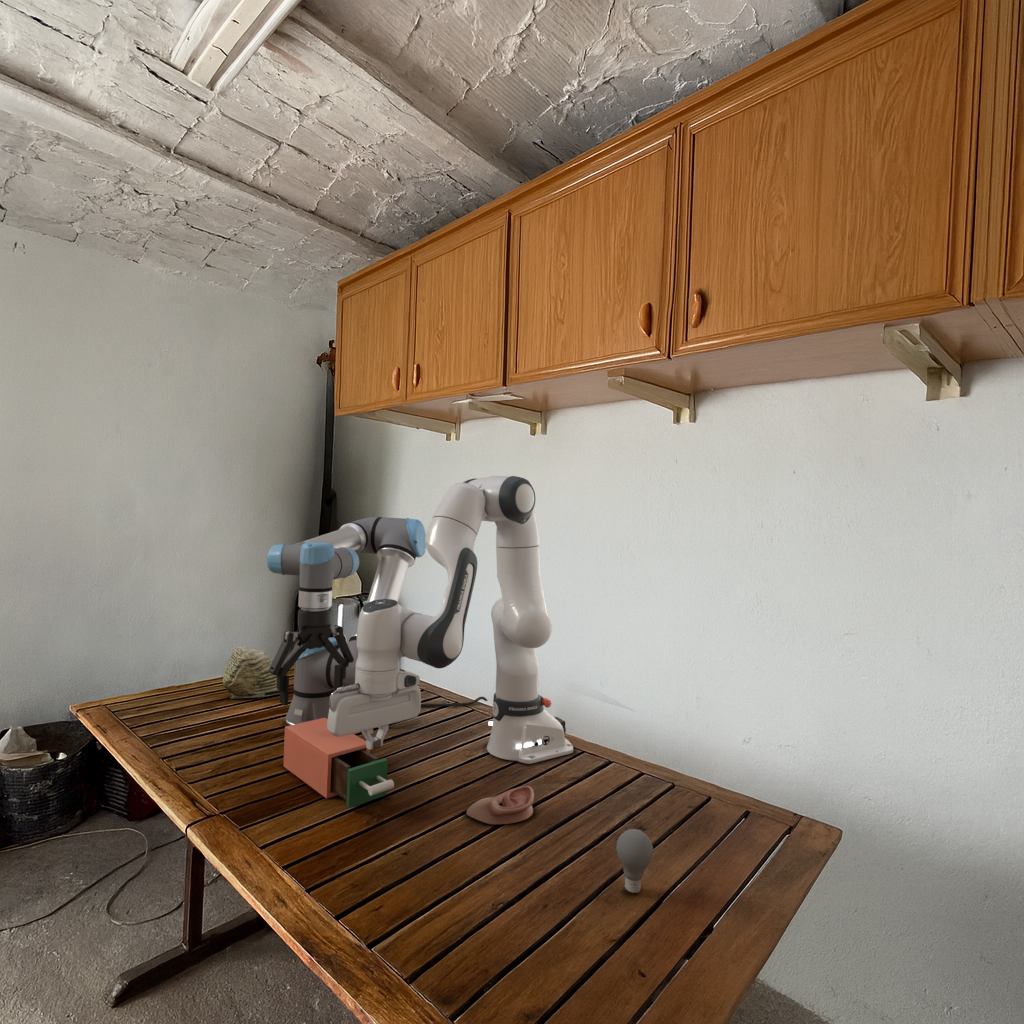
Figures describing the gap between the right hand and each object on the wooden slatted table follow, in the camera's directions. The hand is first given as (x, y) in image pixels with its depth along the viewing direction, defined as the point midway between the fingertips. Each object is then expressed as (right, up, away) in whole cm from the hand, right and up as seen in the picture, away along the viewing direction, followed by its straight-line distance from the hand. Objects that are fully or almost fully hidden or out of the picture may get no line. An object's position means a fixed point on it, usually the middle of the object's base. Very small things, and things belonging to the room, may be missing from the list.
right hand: (374, 747), depth 129 cm
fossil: (-52, -9, +69) cm, 87 cm away
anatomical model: (+26, -14, +1) cm, 29 cm away
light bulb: (+48, -15, -24) cm, 56 cm away
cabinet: (-14, -12, +15) cm, 24 cm away
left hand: (-19, +4, +20) cm, 28 cm away
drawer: (-6, -11, +6) cm, 15 cm away
